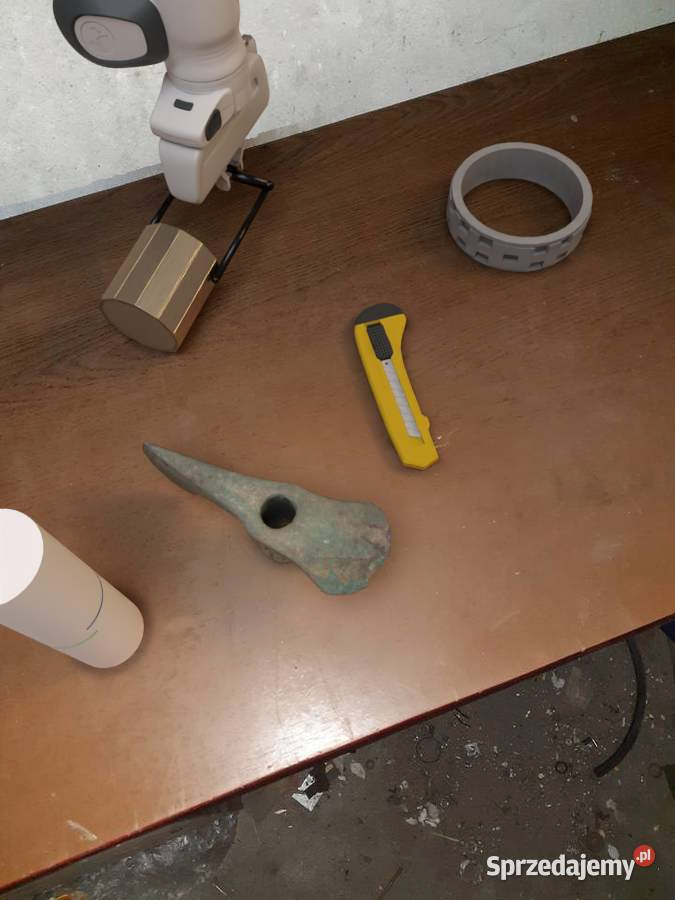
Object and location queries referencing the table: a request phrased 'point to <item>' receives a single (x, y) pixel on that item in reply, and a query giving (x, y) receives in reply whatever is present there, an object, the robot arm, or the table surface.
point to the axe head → (291, 521)
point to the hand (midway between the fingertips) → (230, 179)
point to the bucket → (169, 277)
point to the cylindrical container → (62, 597)
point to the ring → (529, 166)
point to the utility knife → (393, 384)
